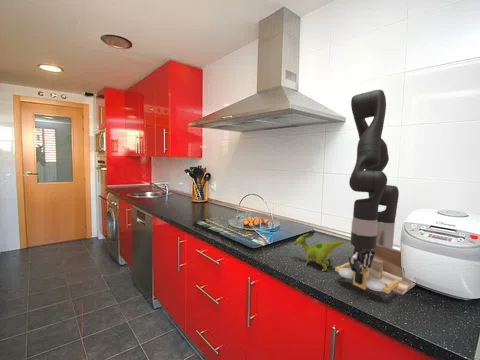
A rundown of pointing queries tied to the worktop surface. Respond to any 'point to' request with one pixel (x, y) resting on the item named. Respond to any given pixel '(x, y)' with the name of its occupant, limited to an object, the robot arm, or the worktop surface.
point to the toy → (318, 251)
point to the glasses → (366, 279)
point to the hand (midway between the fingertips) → (360, 282)
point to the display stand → (389, 268)
